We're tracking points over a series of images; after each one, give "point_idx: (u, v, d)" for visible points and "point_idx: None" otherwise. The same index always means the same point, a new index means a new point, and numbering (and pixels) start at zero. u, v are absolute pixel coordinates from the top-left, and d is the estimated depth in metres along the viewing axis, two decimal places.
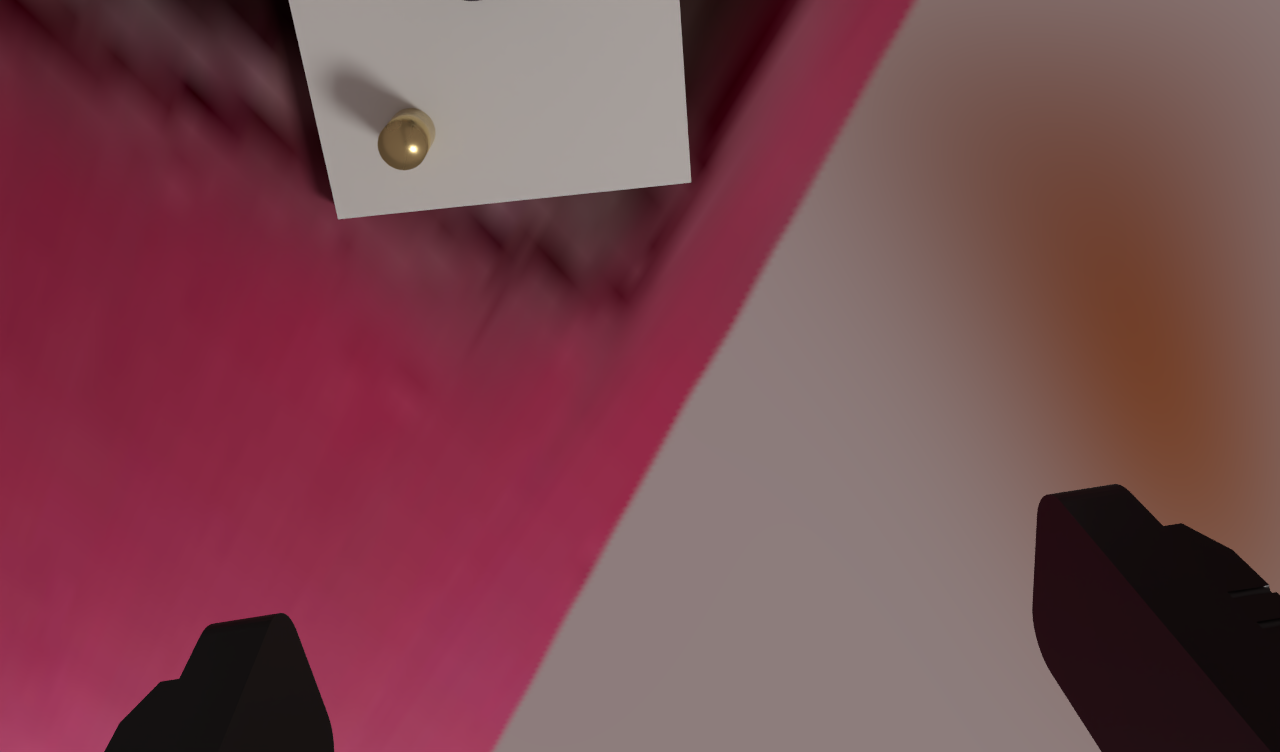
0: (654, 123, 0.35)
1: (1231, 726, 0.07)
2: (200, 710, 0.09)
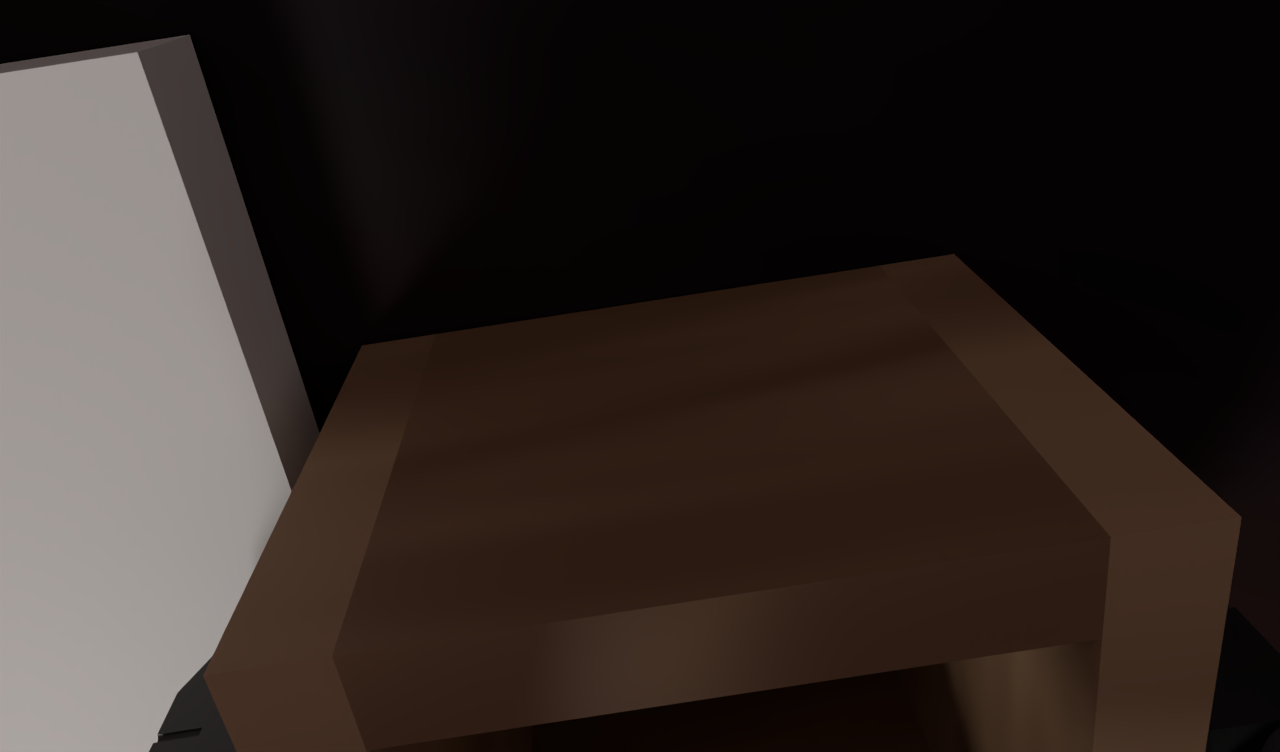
0: None
1: None
2: None
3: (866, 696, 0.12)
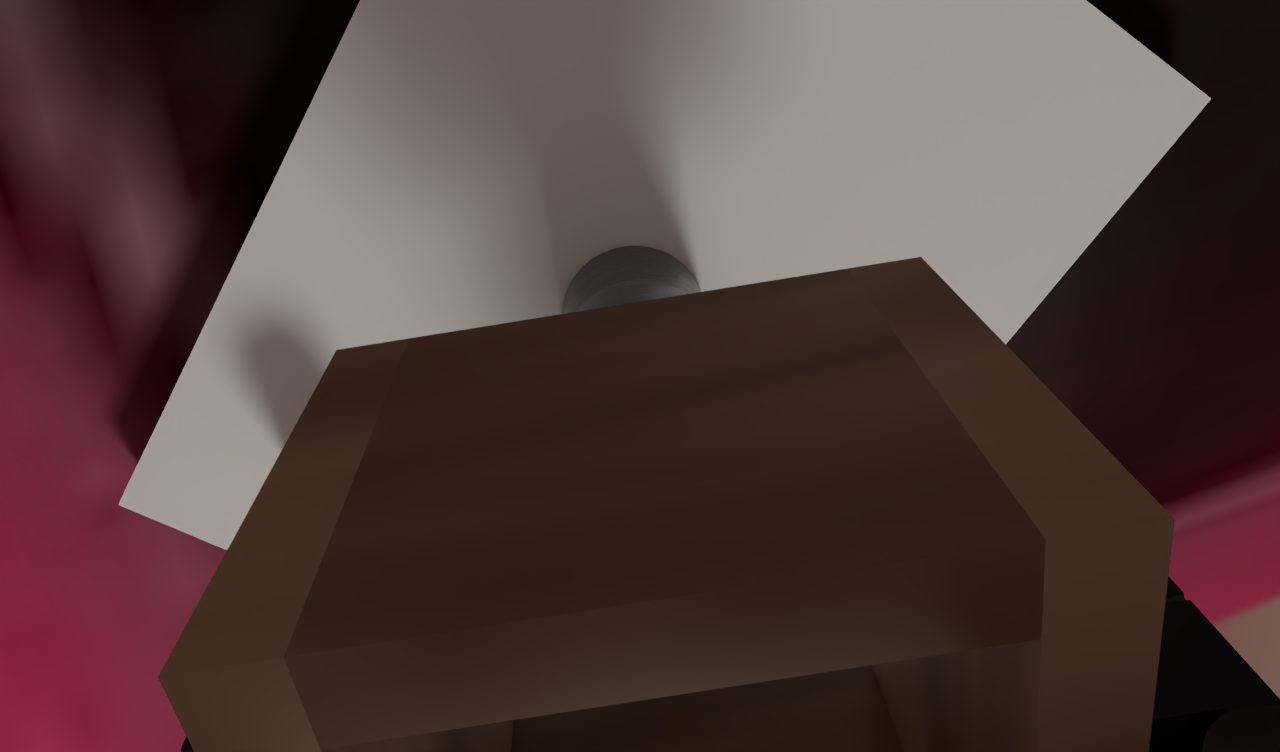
0: None
1: None
2: None
3: (843, 694, 0.13)
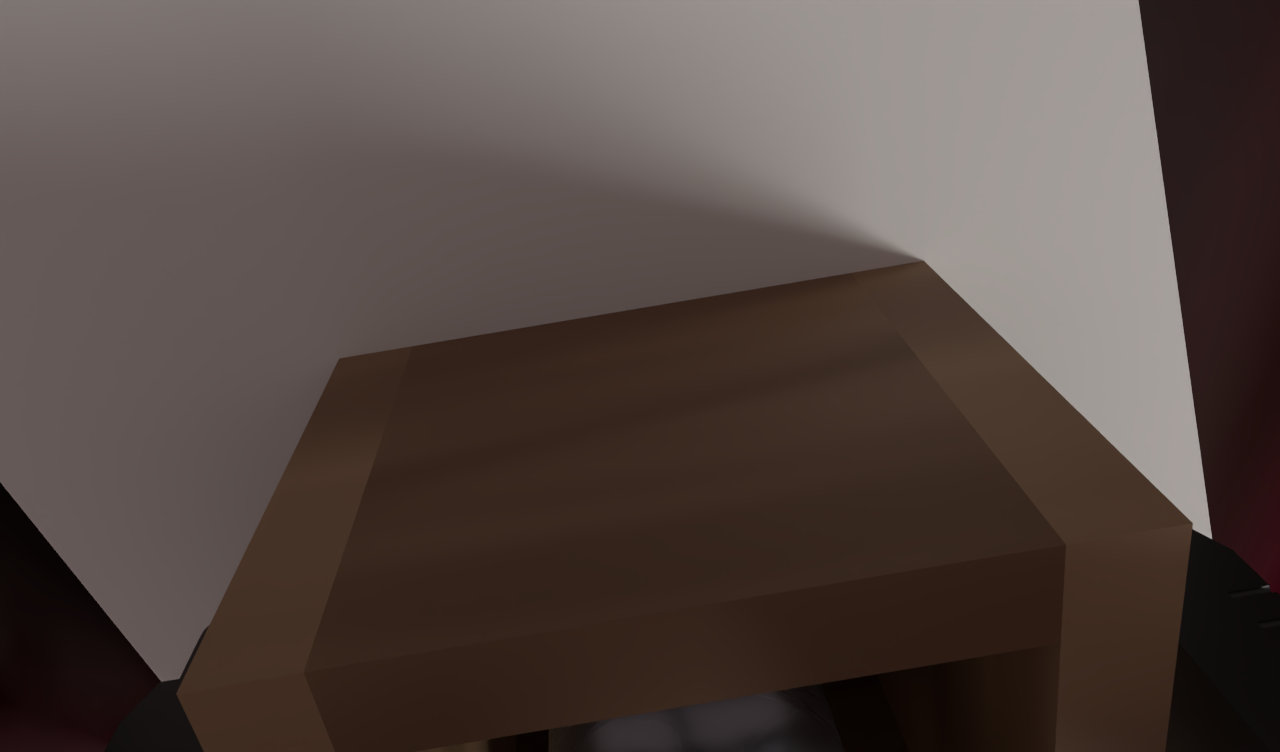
0: None
1: (1231, 724, 0.07)
2: None
3: (846, 697, 0.13)
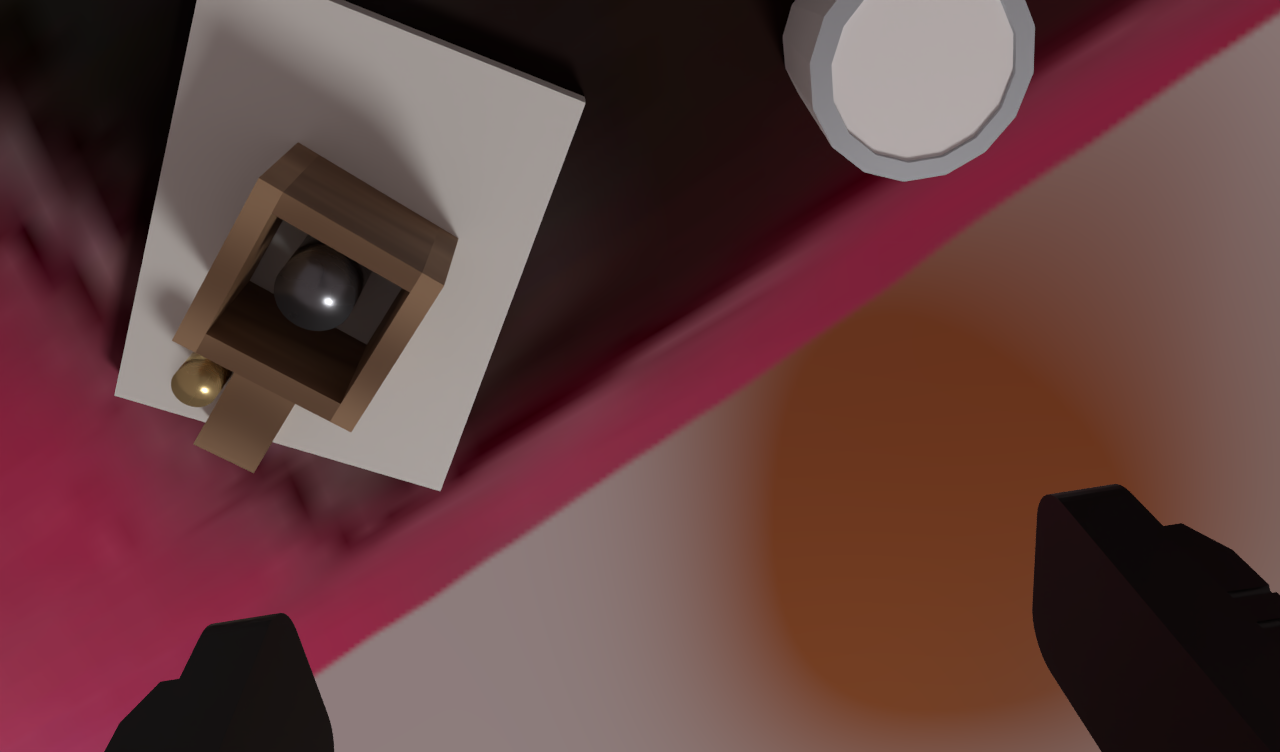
0: (428, 437, 0.40)
1: (1230, 724, 0.07)
2: (200, 710, 0.09)
3: (353, 343, 0.37)
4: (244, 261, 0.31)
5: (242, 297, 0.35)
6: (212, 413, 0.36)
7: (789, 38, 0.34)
